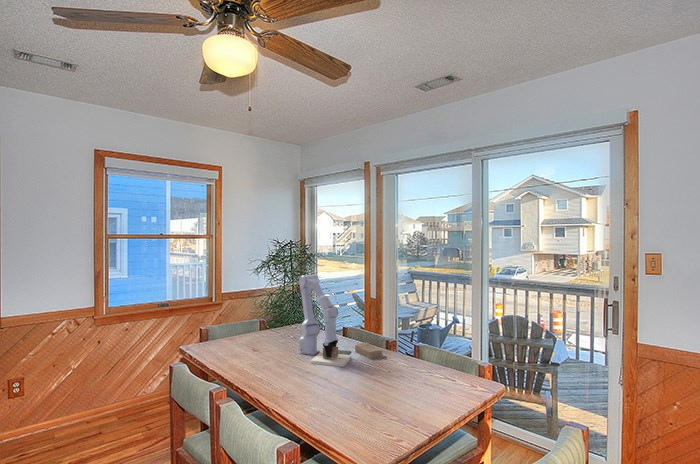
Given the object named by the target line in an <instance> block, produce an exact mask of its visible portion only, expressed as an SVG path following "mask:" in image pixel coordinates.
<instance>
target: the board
mask: <svg viewBox="0 0 700 464" xmlns="http://www.w3.org/2000/svg"><path fill="white" fill-rule="evenodd" d="M351 359H352V355H351V354H349V355H343V354H338V357H337V358H336V359H328V358H323V352H321V351H319V353H318V354H316V356H315V355H314V357H313V358H312V359H311V360H310V364H313V365H324V366H333V367H345V366H346V365H347V364H348V363H349V361H350V360H351Z"/></svg>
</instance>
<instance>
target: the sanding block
mask: <svg viewBox="0 0 700 464" xmlns="http://www.w3.org/2000/svg"><path fill="white" fill-rule="evenodd" d="M338 350H339V346H336V347H333V348H332V354H331V357H327V356H326V352H325V349H324V347H323V348H322V353H323V358H328V359H336V358H337V357H338Z"/></svg>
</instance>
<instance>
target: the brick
mask: <svg viewBox="0 0 700 464" xmlns="http://www.w3.org/2000/svg"><path fill="white" fill-rule="evenodd" d="M354 351H355V352H356V353H357V354H358V355H360V356H363V357H365V358H367V359H369V360H375V359H381V358H382V359H383V350H382V349H380V348H378V347H376V346H374V345H371V343H369V342H361V343H358V344H355V345H354Z"/></svg>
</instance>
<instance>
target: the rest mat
mask: <svg viewBox="0 0 700 464" xmlns="http://www.w3.org/2000/svg"><path fill="white" fill-rule="evenodd" d="M351 353H352V351H351V350H343V349H342V350H341V349H338V354H343V355H351Z"/></svg>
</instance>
